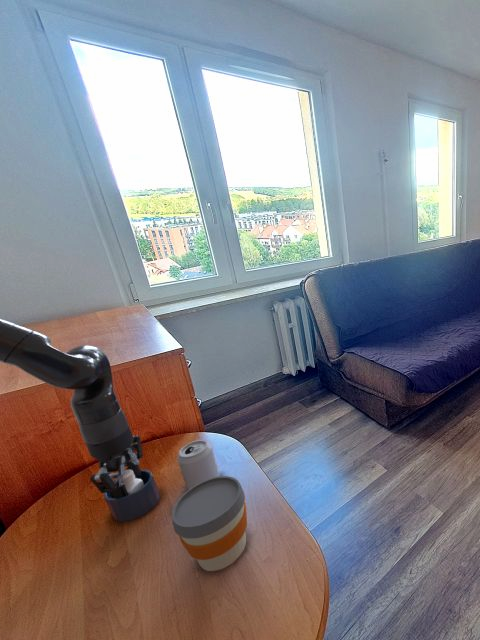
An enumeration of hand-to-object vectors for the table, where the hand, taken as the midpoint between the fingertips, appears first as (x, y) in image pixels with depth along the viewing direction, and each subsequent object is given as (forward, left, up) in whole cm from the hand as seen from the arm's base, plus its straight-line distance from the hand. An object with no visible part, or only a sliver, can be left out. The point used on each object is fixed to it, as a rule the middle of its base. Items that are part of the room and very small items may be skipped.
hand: (129, 487), depth 81 cm
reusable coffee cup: (0, -30, -6) cm, 31 cm away
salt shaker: (0, 0, -6) cm, 6 cm away
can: (+11, -9, -6) cm, 15 cm away
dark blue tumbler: (0, 0, -6) cm, 6 cm away
